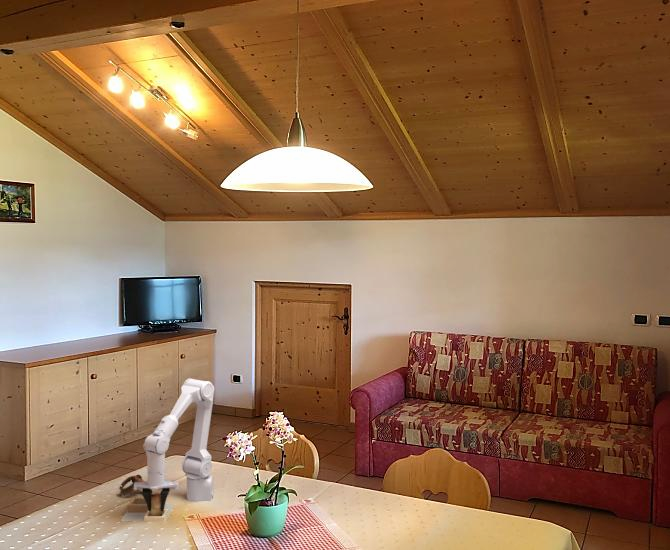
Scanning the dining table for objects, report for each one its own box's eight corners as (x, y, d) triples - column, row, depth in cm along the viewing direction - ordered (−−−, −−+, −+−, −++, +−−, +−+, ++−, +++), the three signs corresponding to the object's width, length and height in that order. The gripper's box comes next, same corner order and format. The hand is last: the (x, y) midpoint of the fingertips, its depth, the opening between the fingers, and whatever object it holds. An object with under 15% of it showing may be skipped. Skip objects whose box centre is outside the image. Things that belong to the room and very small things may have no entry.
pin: (163, 513, 229) (163, 493, 228) (160, 517, 225) (160, 497, 224) (152, 513, 228) (152, 493, 228) (149, 517, 225) (149, 497, 224)
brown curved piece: (149, 501, 244) (137, 484, 241) (126, 512, 244) (114, 495, 241) (153, 481, 255) (142, 464, 252) (131, 491, 255) (119, 475, 252)
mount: (174, 507, 237) (174, 497, 237) (166, 524, 223) (166, 513, 223) (131, 507, 237) (131, 497, 236) (120, 524, 223) (120, 513, 223)
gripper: (131, 474, 221) (131, 515, 222) (175, 474, 222) (175, 514, 223) (136, 467, 228) (136, 506, 229) (179, 467, 229) (179, 506, 230)
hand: (156, 509), depth 227 cm, fingers closed on pin, 4 cm apart
